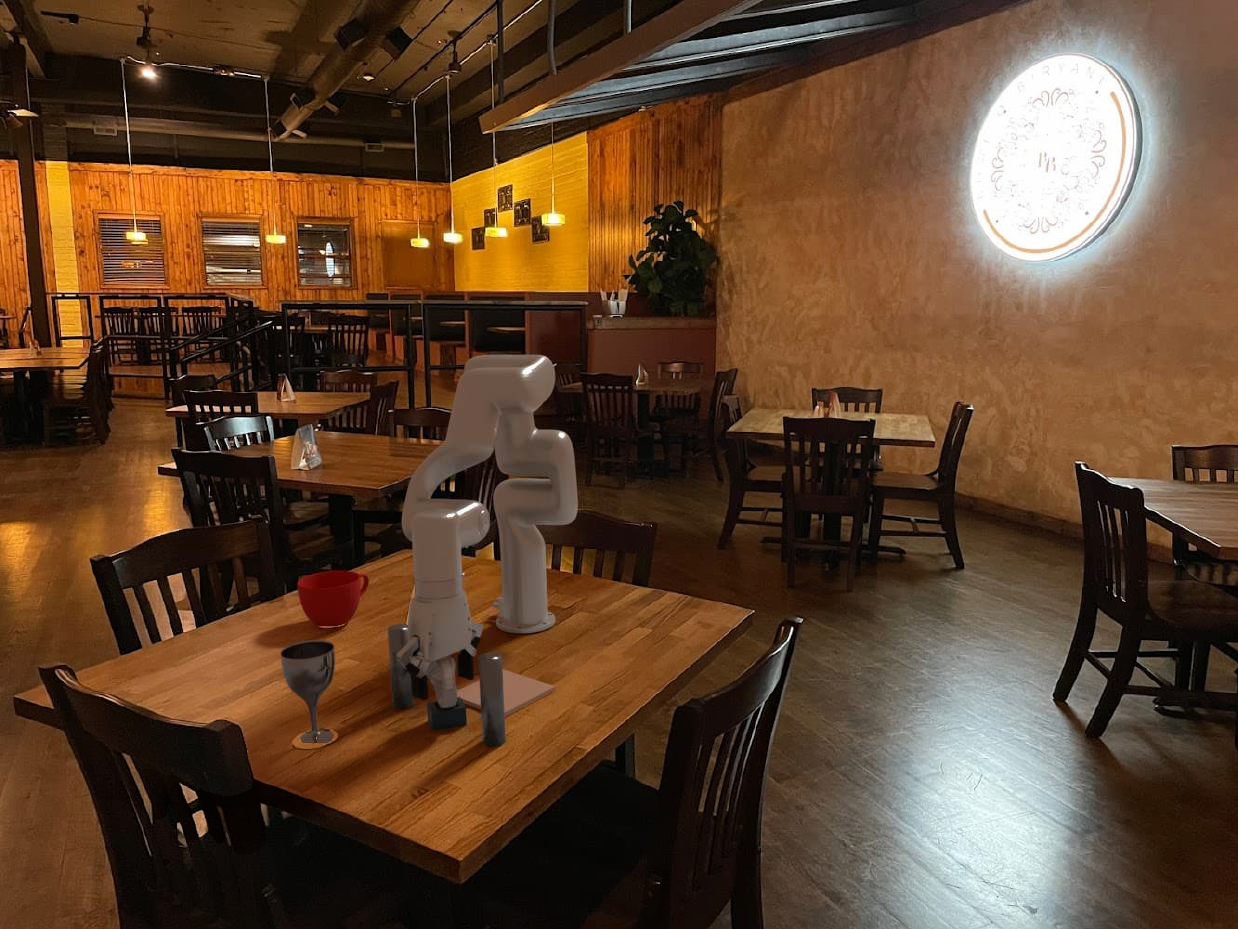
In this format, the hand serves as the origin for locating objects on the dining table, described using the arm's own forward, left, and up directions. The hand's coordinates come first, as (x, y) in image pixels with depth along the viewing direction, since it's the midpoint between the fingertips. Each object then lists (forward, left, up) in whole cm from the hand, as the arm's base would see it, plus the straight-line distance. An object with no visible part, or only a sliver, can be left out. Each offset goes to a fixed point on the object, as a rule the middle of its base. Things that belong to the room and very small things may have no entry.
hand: (443, 688), depth 144 cm
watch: (0, 0, -6) cm, 6 cm away
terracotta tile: (0, +13, -6) cm, 15 cm away
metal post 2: (+11, 0, -6) cm, 13 cm away
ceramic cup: (-56, +19, -6) cm, 60 cm away
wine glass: (-13, -16, -6) cm, 21 cm away
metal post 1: (-11, 0, -6) cm, 13 cm away
